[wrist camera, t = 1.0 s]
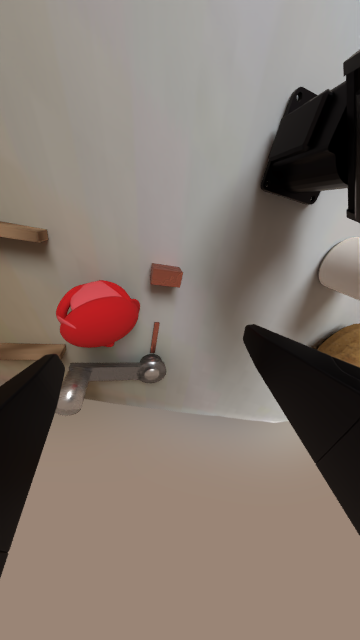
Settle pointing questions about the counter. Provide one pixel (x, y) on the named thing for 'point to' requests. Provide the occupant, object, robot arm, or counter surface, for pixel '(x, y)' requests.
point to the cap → (97, 314)
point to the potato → (344, 345)
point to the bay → (26, 350)
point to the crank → (103, 379)
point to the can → (342, 268)
